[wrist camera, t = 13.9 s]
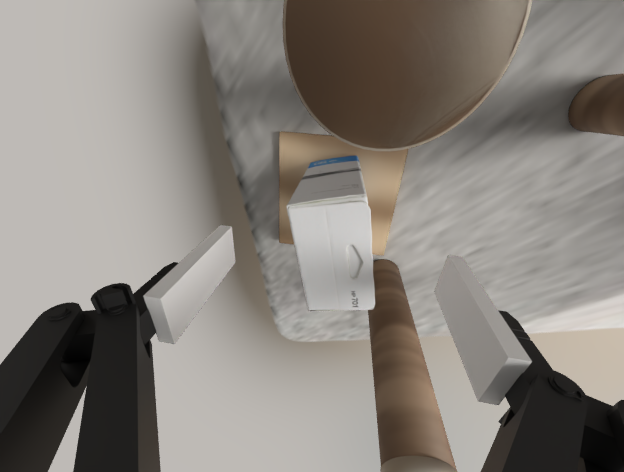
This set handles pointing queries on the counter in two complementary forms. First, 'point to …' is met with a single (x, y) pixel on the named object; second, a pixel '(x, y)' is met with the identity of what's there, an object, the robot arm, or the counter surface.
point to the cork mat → (374, 166)
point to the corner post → (403, 383)
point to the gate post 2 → (600, 106)
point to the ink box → (333, 236)
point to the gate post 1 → (398, 64)
